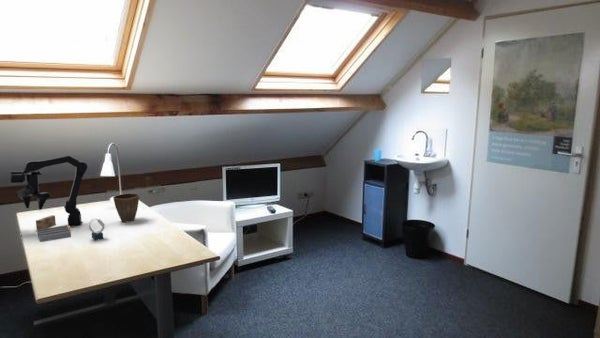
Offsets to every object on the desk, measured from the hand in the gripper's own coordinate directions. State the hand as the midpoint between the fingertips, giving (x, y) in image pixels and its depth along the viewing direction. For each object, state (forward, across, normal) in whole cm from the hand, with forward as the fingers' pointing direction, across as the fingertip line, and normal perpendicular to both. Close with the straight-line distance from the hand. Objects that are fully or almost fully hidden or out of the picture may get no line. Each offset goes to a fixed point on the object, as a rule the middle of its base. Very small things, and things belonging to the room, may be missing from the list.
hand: (33, 208), depth 237 cm
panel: (+13, +2, +6) cm, 14 cm away
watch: (+12, +47, -3) cm, 48 cm away
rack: (+12, +19, -5) cm, 23 cm away
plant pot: (+10, +40, +31) cm, 51 cm away
